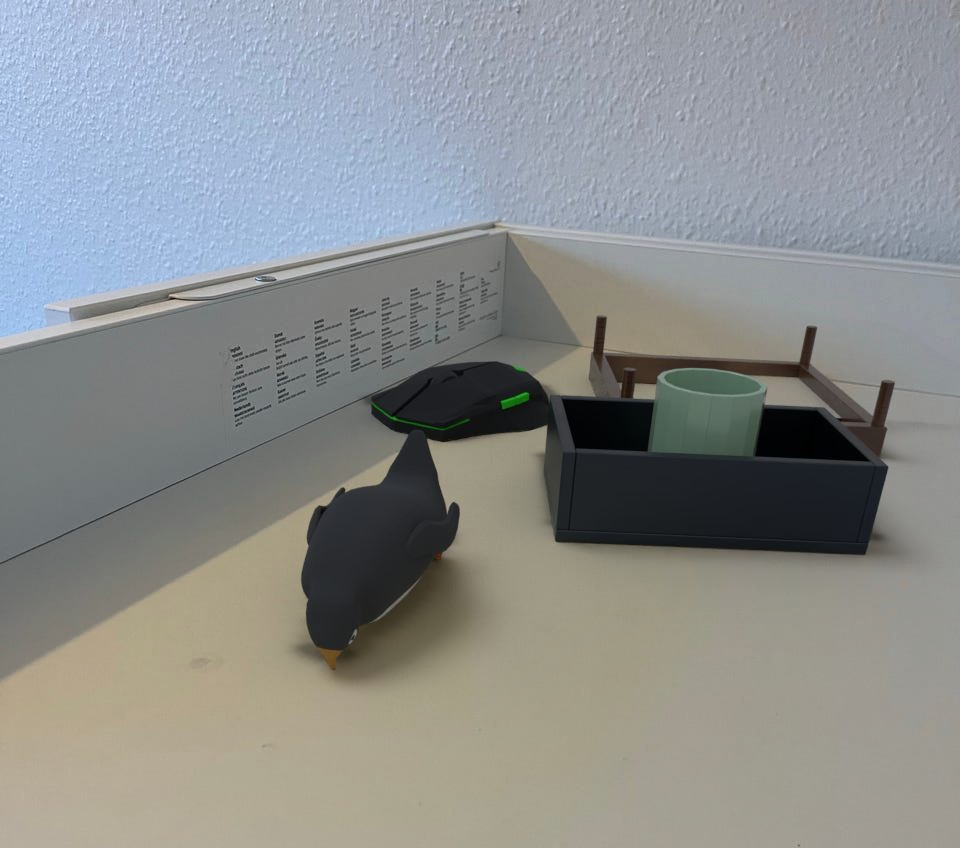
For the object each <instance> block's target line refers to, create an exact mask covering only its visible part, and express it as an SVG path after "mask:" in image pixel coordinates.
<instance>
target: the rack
mask: <svg viewBox="0 0 960 848" xmlns="http://www.w3.org/2000/svg"><path fill="white" fill-rule="evenodd" d="M607 322H608V316H606V315H602V314H601V315H596V317H595V328H594V338H593V349H592V351H591V352H590V361H589V370H588V371H589V372H588V380H589V381H590V384H591V387H592V389H593V392H594V394H595V397H612V398H634V395H635V387H636V383H637V384H656V385H657V378H658V376H659V375H660V374H661V373H662V372H665V371H669V370H673V369H683V368H703V369H716V370H723V371H731V372H735V373H739V374H743V375H747V376H757V377H778V378H798V379H799V381H801V382H802V383H803V384H804V385H805V386H806V387H807V388H808V389H809V390H811V391H812V392H813V393H814V394H815V395H816V396H817V397H818V398H819V399H821V401H823V402H824V403H825V404H826V405H827V406H828V407H829V408H830V409H832V410H833V411H834V412H835V413H836V414H837V415H838V416H839V417H836V418H837V419H838V420H839V421H840V422H841V423H842V424H843V425H844V426H845V427H846V428H847V429H848V430H850V431H851V432H852V433H853V434H854V435H855V436H856V437H857V438H858V439H859V440H860V441H861V442H863V443H864V444H865V445H866V446H867V447H868V448H869V449H870V450H871V451H872V452H873V453H874V454H875V455H877V456H878V457H879V458H880V459H881V455H882V450H883V447H884V442H885V440H886V435H887V431H888V427H887V426H885V424H886V421H887V416H888V413H889V409H890V405H891V401H892V397H893V393H894V389H895V385H896V382H895V381H894V380H890V379H882V380H881V381H880V386H879V390H878V395H877V398H876V402H875V406H874V411H873V414H871V413H870V412H869V411H868V410H867V409H865V407H863V406H861V404H859V403H858V402H857V401H856V400H854V399H853V398H852V397H851V396H850V395H849V394H847V393H846V392H844V391H843V390H842V389H841V388H840V387H838V385H836V383H834V382H833V381H832V380H830V379H829V378H828V377H827V376H825V374H823V373H822V372H821V371H820V370H818V368H816V367H815V366H813V364H811V359H812V356H813V352H814V347H815V341H816V340H815V339H816V336H817V330H818V326H816V325H806V327H805V333H804V337H803V341H802V347H801V352H800V356H799V360H798V361H792V360H791V361H790V360H788V361H787V360H768V359H751V358H750V359H749V358H747V359H745V358H731V357H730V358H729V357H728V358H726V357H710V356H709V357H706V356H688V355H687V356H686V355H685V356H684V355H665V354H644V353H643V354H642V353H625V352H623V353H622V352H621V353H620V352H604V351H605V340H606V333H607V332H606V331H607ZM619 383H621V387H620V385H619Z"/></svg>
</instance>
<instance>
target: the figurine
mask: <svg viewBox="0 0 960 848" xmlns="http://www.w3.org/2000/svg"><path fill="white" fill-rule="evenodd" d="M460 516H461V510H460V506H459V503H457V502H456V501H452V502H451V503H450V505H449V507H448V510H447V504H446V501H445V498H444V495H443V491H442V488H441V484H440V480H439V473H438V470H437V467H436V465H435V462H434V459H433V455H432V452H431V449H430V445H429V442H428V438H426V435H425V434H424V432H423V431H421V430H413V431H412V432H411V433H410V434H408V435H407V437H406V439H405V441H404V442H403V444H402V446H401V449H400V450H399V452H398V454H397V455H396V457H395V458H394V460H393V461H392V463H391V464H390V466H389V468H388V470H387V473H386V475H385V477H384V478H383V479H382V481H380V482H379V483H378V484H374V485H364V486H360V487H355V488H351V489H349V490H347V491H346V488H345V487H344V486H343V487H340V488H339V489H338V490H337V491H336V493H335V494H334V495H333V497H332V499H331V501H330V502H329V503H328V504H327V505H318V506H316V507H315V508H314V511H313V513H312V514H311V517H310V520H309V523H308V527H307V531H306V543H307V550H306V552H305V553H306V554H305V556H304V561H303V564H302V568H301V573H300V574H301V575H300V585H301V589H302V591H303V594H304V596H305V597H306V599H307V602H306V608H305V609H306V610H305V622H306V627H307V631H308V634H309V637H310V640H311V641H312V643H313V645H314V646H315V647H316V648H317V650H318V651H319V652H320V653H321V654H322V655H323V657H324V659H325V661H326V663H327V665H328V666H329V668H330V669H331V670H336V668H337V659H338V656H340V654H341V653H342V652H343V651H344V650H345V649H347V648H348V647H349V646H350V645H351V644H353V642H354V641H355V639H356V637H357V635H358V632H359V631H360V630H359V629H360V627H362V626H365V625H368V624H372V623H374V622H376V621H378V620H380V619H381V618H383V617H384V616H385V615H387V614H388V613H389V612H390V611H391V610H392V609H393V608H395V607H396V606H397V605H398V604H399V603H400V602H401V601H402V600H404V598H405V597H406V596H407V595H408V594H409V593H410V592H411V590H412V589H413V588H414V587H415V586H416V585H417V583H418V582H419V581H420V580H421V578H423V575H424V574H425V572H426V571H427V569H428V568H429V566H430V565H431V563H432V561H433V560H434V558H435V559H436V560H440V559H442V557H443V553H444V552H446V551H447V550H448V549H449V548H450V547H451V546H452V544H453V543H454V541H455V539H456V536H457V532H458V530H459V523H460V518H461V517H460Z"/></svg>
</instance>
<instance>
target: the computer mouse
mask: <svg viewBox="0 0 960 848" xmlns="http://www.w3.org/2000/svg"><path fill="white" fill-rule="evenodd" d="M370 398H371V399H370V400H371V404H370V405H371V415H372V416H373V417H374V418H376V419H377V420H378V421H379V422H381V423H382V424H383V425H385V426H386V427H387V428H388V429H390V430H393V431H394V432H399V433H404V434H408V435H409V434H410V433H411V432H412V431H413V430H421V431H423V432H424V434H425V435H426V438H427V439H430V440H434V441H439V442H447V441H453V440H459V439H465V438H470V437H474V436H481V435H491V434H497V433H499V434H500V433H511V431H513V432H523V431H522V430H525V431H530V429H531V430H534V429H537V428H540V427H543V426H547V424H548V412H549V400H550V398H549V395H548V393H547V392H546V391H545V389H544V387H543V386H542V384H541V383H540V381H539V380H538V379H537V378H536V377H534V376H533V375H532V374H531V373H529V372H528V371H527V370H526V369H525V368H522V367H518V366H515V365H512V364H508V363H505V362H502V361H501V362H500V361H497V360H495V361H494V360H492V361H489V360H488V361H466V362H458V363H457V362H456V363H450V364H443V365H442V364H441V365H437V366H432V367H428V368H425V369H423V370H420V371H418V372H417V373H415V374H414V375H412V376H410V377H408V378H407V379H405V380H404V381H402V382H400V383H399V384H398V385H396V386H394V387H391V388H388V389H386V390H383V391H381V392H379V393H376V394H374V395H372V396H370ZM542 425H543V426H542ZM539 426H540V427H539ZM536 427H537V428H536ZM533 428H534V429H533Z"/></svg>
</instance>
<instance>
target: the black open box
mask: <svg viewBox="0 0 960 848" xmlns="http://www.w3.org/2000/svg"><path fill="white" fill-rule="evenodd" d="M654 400H655V398H634V397H633V398H612V397H596V396H589V395H588V396H587V395H565V394H564V395H563V394H550V395H549V412H548V424H546V440H545V449H544V450H545V451H544V463H543V478H544V482H545V490H546V495H547V501H548V506H549V512H550V513H549V514H550V518H551V525H552V531H553V537H554V541H555V542H569V543H593V544H611V545H612V544H614V545H638V546H660V547H661V546H662V547H682V548H685V547H686V548H706V549H707V548H708V549H709V548H710V549H730V550H751V551H752V550H753V551H756V550H757V551H777V552H779V551H780V552H801V553H822V554H823V553H826V554H848V555H866V554H867V551H868V548H869V543H870V541H871V537H872V533H873V529H874V525H875V521H876V517H877V513H878V510H879V506H880V502H881V498H882V494H883V490H884V487H885V483H886V478H887V476H888V471H889V466H888V465H887V464H886V463H885V462H884V460H882V459H881V457H880V458H879V457H878V456H877V455H875V454H874V453H873V452H872V451H871V450H870V449H869V448H868V447H867V446H866V445H865V444H864V443H863V442H861V441H860V440H859V439H858V438H857V437H856V436H855V435H854V434H853V433H852V432H851V431H850V430H848V429H847V428H846V427H845V426H844V425H843V424H842V423H841V422H840V421H839V420H838V419H837V418H838V417H836V416H834V415H833V414H832V413H831V412H830V411H829V410H828V409H827V408H826V407H824V406H804V405H802V406H801V405H785V404H784V405H781V404H780V405H779V404H764V410H763V415H762V420H761V425H760V431H759V436H758V441H757V446H756V452H755V457H753V456H731V455H709V454H687V453H665V452H648V445H649V437H650V430H651V422H652V415H653V407H654Z"/></svg>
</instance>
